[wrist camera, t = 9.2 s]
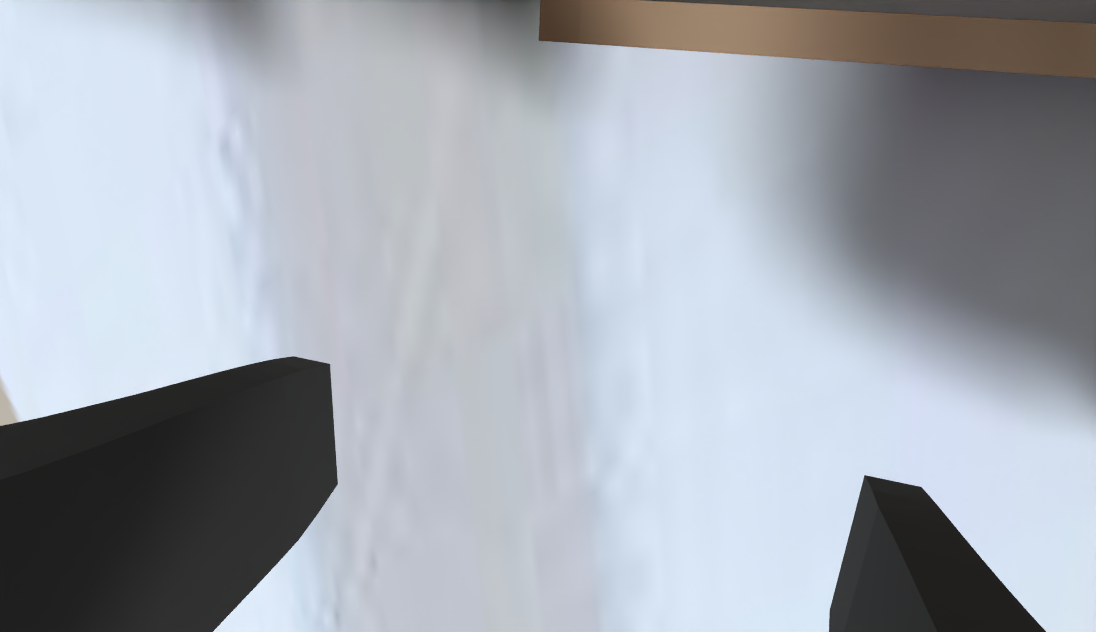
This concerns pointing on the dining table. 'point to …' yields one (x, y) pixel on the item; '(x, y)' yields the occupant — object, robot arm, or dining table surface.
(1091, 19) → the dining table surface
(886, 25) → the frame box
